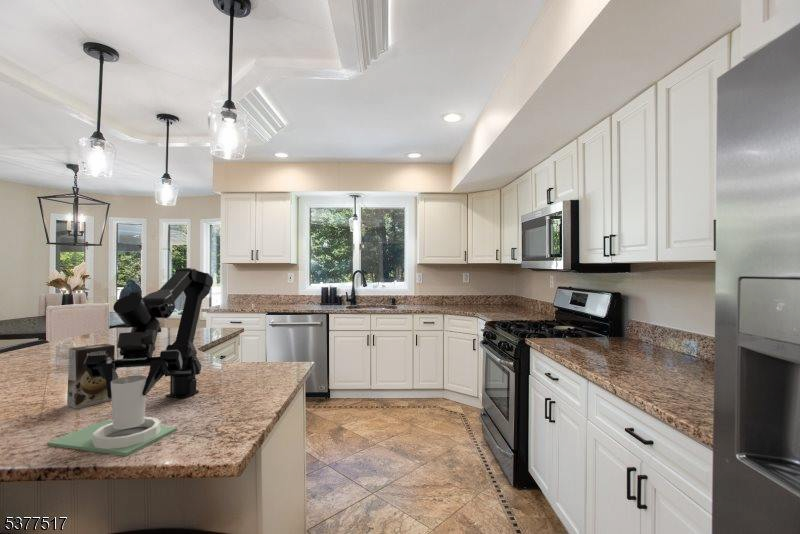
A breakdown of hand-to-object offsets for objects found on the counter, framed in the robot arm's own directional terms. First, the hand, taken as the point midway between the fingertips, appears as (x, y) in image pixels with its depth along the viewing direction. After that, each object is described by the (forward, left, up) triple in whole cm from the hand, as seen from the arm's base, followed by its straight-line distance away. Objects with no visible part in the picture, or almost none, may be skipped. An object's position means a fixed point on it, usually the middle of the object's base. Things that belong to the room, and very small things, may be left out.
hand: (126, 396), depth 84 cm
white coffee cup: (-1, +1, -7) cm, 7 cm away
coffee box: (-33, +18, -10) cm, 39 cm away
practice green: (-4, +1, -10) cm, 11 cm away
